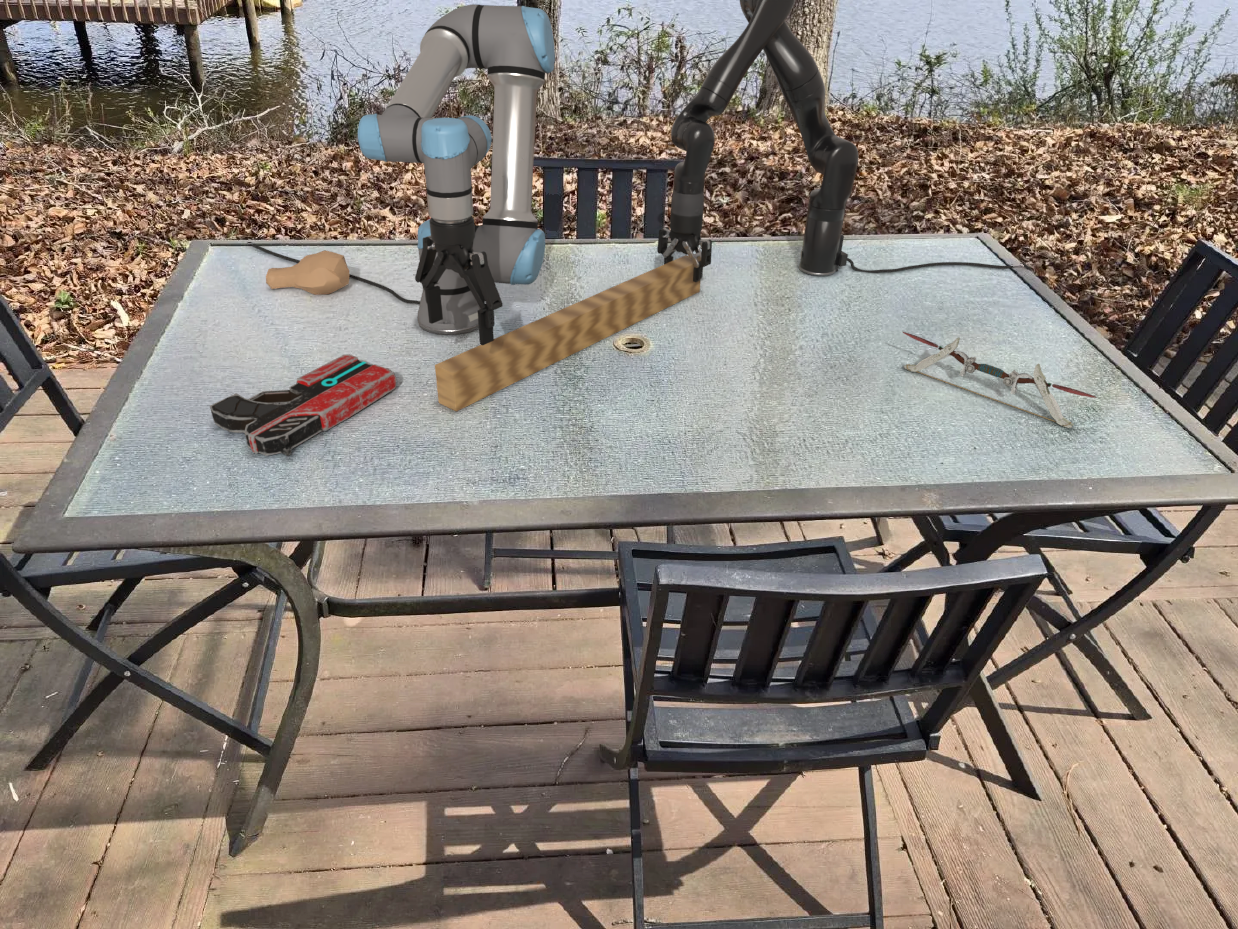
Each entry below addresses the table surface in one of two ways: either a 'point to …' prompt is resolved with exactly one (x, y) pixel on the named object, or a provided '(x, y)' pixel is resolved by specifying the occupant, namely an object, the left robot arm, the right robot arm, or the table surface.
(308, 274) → the squash
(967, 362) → the bow
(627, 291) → the beam
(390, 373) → the gun
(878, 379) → the table surface
